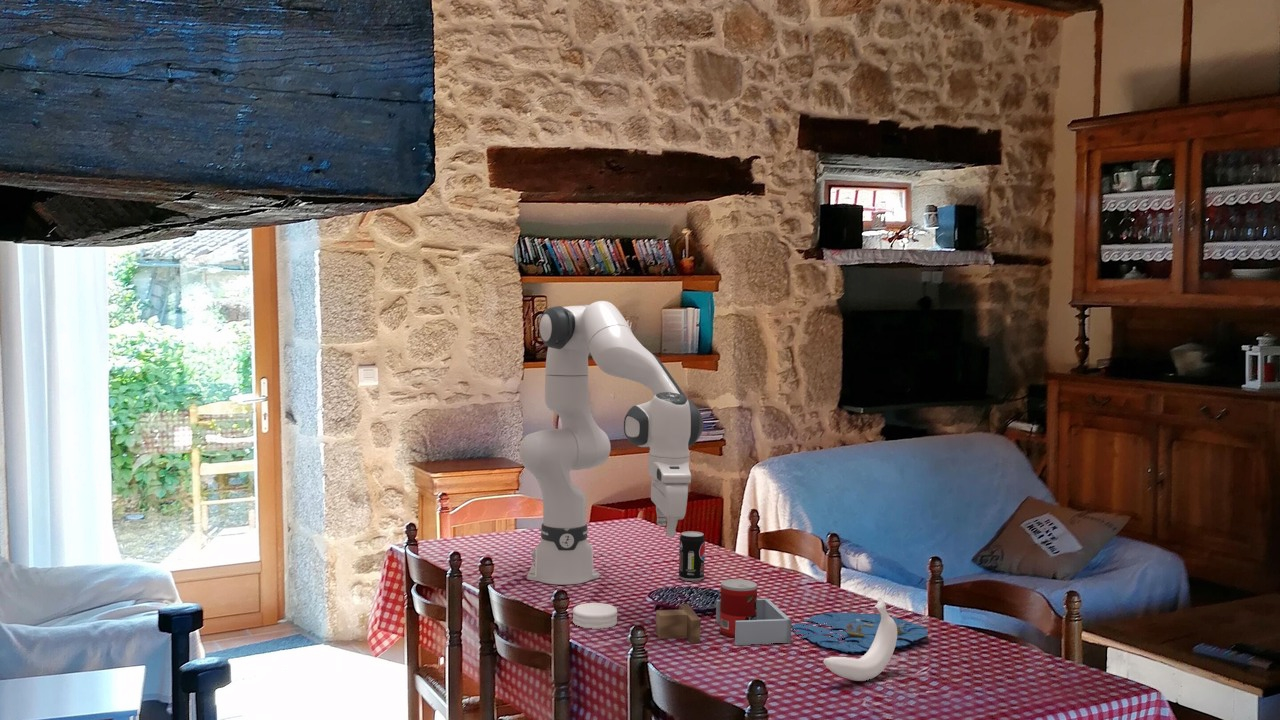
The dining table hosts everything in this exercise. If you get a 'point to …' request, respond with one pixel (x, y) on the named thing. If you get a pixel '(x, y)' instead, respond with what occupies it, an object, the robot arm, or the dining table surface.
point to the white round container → (595, 615)
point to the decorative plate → (855, 630)
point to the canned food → (737, 604)
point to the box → (762, 625)
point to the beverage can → (691, 556)
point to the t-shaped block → (678, 624)
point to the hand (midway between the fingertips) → (665, 530)
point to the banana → (869, 652)
